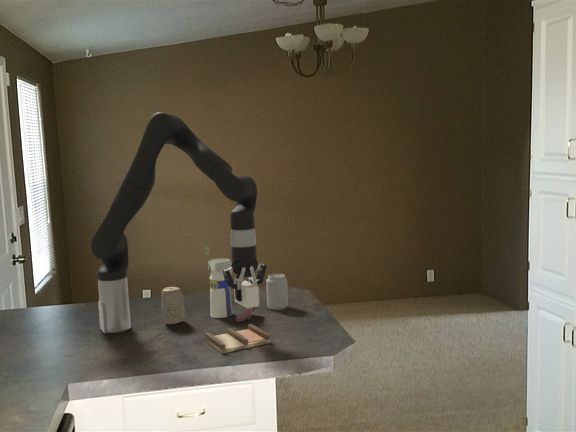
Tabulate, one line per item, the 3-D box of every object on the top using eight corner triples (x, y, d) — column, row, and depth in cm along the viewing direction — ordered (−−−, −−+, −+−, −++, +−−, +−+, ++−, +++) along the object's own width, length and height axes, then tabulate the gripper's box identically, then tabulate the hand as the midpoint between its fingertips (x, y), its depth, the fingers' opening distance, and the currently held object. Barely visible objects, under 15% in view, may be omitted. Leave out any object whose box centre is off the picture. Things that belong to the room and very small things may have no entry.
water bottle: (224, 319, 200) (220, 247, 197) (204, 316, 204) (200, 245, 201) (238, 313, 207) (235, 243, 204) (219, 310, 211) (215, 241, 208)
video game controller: (246, 327, 196) (254, 309, 194) (234, 321, 196) (242, 303, 195) (253, 318, 205) (261, 301, 204) (242, 312, 206) (250, 295, 204)
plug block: (234, 301, 180) (233, 282, 180) (246, 299, 182) (245, 280, 181) (247, 308, 172) (246, 288, 172) (259, 306, 174) (258, 286, 174)
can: (265, 306, 214) (263, 274, 213) (284, 303, 216) (283, 271, 215) (270, 311, 207) (269, 278, 205) (290, 309, 209) (289, 276, 208)
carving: (161, 321, 200) (159, 287, 199) (183, 318, 203) (181, 284, 201) (163, 327, 194) (161, 291, 193) (186, 324, 197) (184, 289, 195)
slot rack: (221, 353, 168) (221, 345, 167) (205, 340, 179) (204, 333, 179) (270, 342, 175) (270, 334, 175) (251, 331, 186) (251, 323, 186)
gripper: (259, 239, 182) (262, 293, 184) (216, 244, 175) (219, 301, 177) (270, 242, 175) (273, 298, 177) (226, 248, 168) (229, 306, 171)
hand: (246, 299), depth 177 cm, fingers closed on plug block, 4 cm apart
